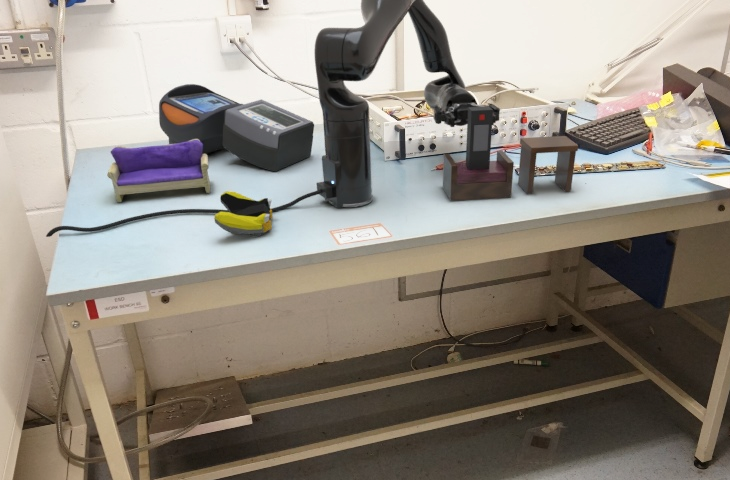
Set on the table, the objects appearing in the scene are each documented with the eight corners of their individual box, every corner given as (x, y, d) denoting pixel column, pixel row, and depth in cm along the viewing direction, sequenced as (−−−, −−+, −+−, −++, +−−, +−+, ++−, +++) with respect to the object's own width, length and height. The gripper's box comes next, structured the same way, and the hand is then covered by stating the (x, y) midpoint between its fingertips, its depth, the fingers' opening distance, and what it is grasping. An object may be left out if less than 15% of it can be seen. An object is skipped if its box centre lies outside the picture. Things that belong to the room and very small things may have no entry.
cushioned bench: (450, 201, 136) (451, 165, 132) (442, 187, 144) (443, 153, 140) (511, 197, 137) (513, 162, 133) (500, 184, 145) (502, 150, 141)
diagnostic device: (146, 82, 159) (210, 68, 176) (148, 147, 170) (208, 128, 186) (269, 138, 148) (325, 118, 164) (263, 204, 158) (316, 178, 175)
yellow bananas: (216, 244, 119) (271, 240, 120) (212, 215, 117) (268, 212, 117) (224, 215, 132) (273, 212, 133) (220, 189, 129) (270, 186, 130)
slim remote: (469, 170, 136) (471, 110, 130) (465, 165, 139) (468, 107, 133) (489, 169, 137) (493, 109, 130) (485, 164, 139) (489, 106, 133)
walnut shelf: (526, 195, 138) (531, 147, 133) (516, 183, 145) (520, 138, 140) (572, 192, 139) (578, 145, 134) (559, 180, 146) (565, 135, 141)
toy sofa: (113, 203, 140) (101, 156, 134) (118, 191, 147) (106, 145, 142) (213, 194, 144) (205, 147, 138) (212, 182, 151) (205, 137, 146)
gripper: (427, 89, 150) (440, 104, 136) (488, 87, 151) (506, 101, 137) (427, 123, 154) (439, 140, 140) (486, 120, 155) (504, 137, 141)
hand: (472, 121), depth 139 cm, fingers open, 8 cm apart
